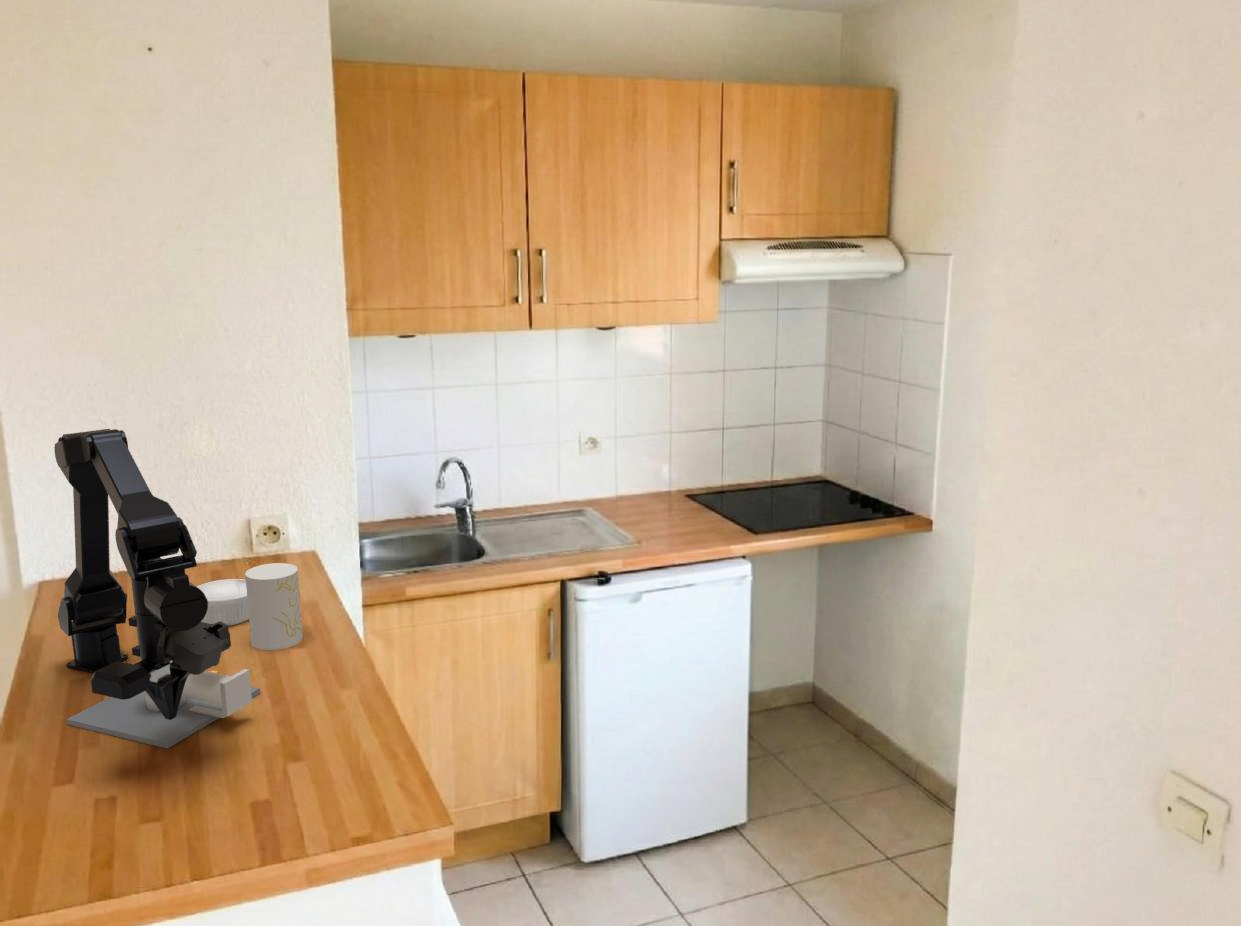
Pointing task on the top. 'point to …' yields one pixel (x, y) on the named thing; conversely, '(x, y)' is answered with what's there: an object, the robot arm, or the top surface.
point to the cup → (274, 606)
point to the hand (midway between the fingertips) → (170, 718)
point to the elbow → (220, 689)
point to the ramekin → (226, 601)
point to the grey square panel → (149, 719)
